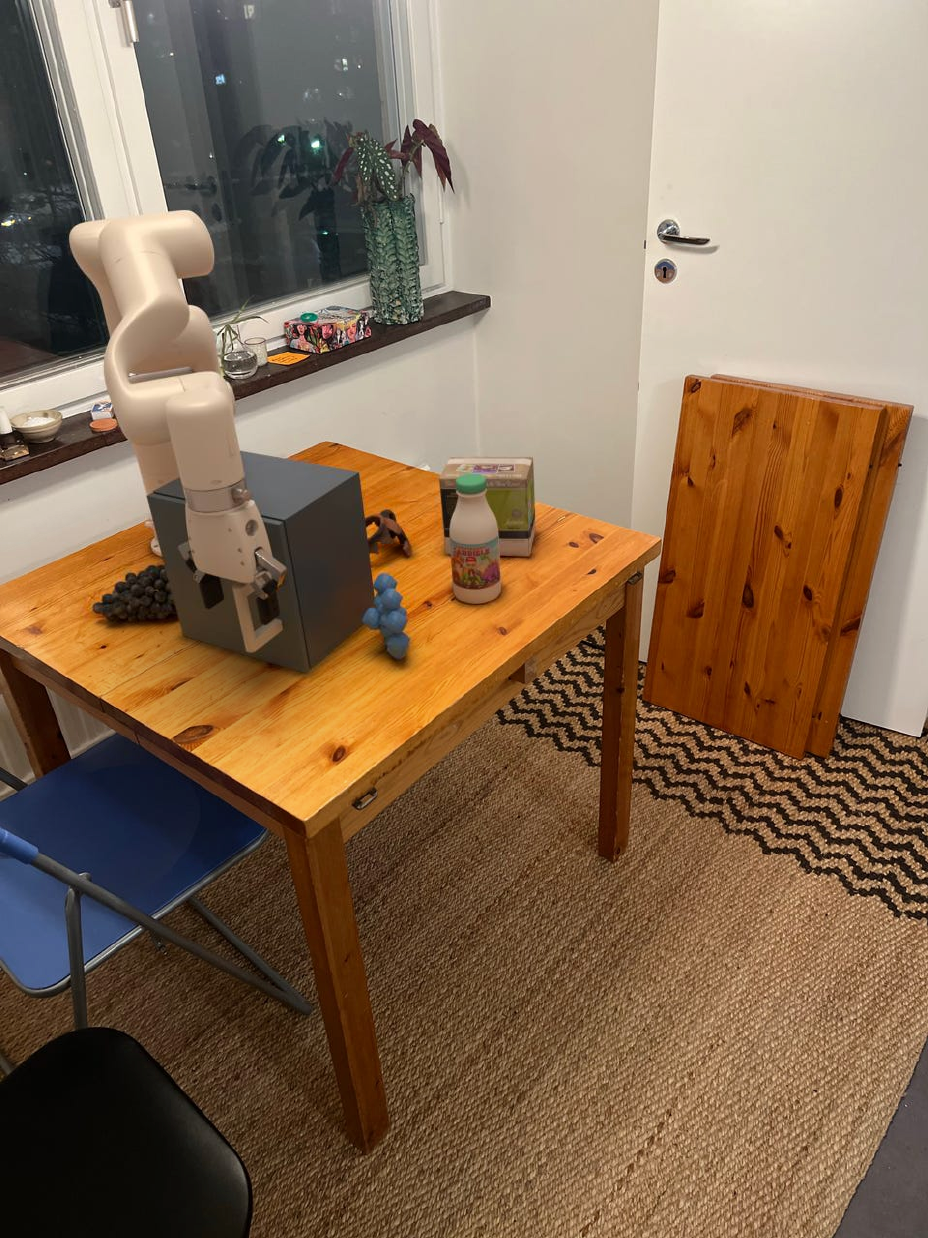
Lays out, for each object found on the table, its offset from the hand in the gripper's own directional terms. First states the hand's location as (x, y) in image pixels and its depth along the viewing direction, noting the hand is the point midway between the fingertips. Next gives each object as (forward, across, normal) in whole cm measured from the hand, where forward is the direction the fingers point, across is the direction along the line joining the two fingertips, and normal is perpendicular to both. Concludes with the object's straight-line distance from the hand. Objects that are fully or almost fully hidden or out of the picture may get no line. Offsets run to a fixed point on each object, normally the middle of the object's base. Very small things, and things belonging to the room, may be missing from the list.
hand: (242, 611), depth 121 cm
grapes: (+13, -11, -16) cm, 24 cm away
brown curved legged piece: (+13, +7, -42) cm, 45 cm away
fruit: (+13, +31, -8) cm, 35 cm away
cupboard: (+13, +9, -16) cm, 22 cm away
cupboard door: (+13, +9, -3) cm, 16 cm away
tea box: (+13, -9, -52) cm, 55 cm away
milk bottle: (+13, -15, -36) cm, 42 cm away
